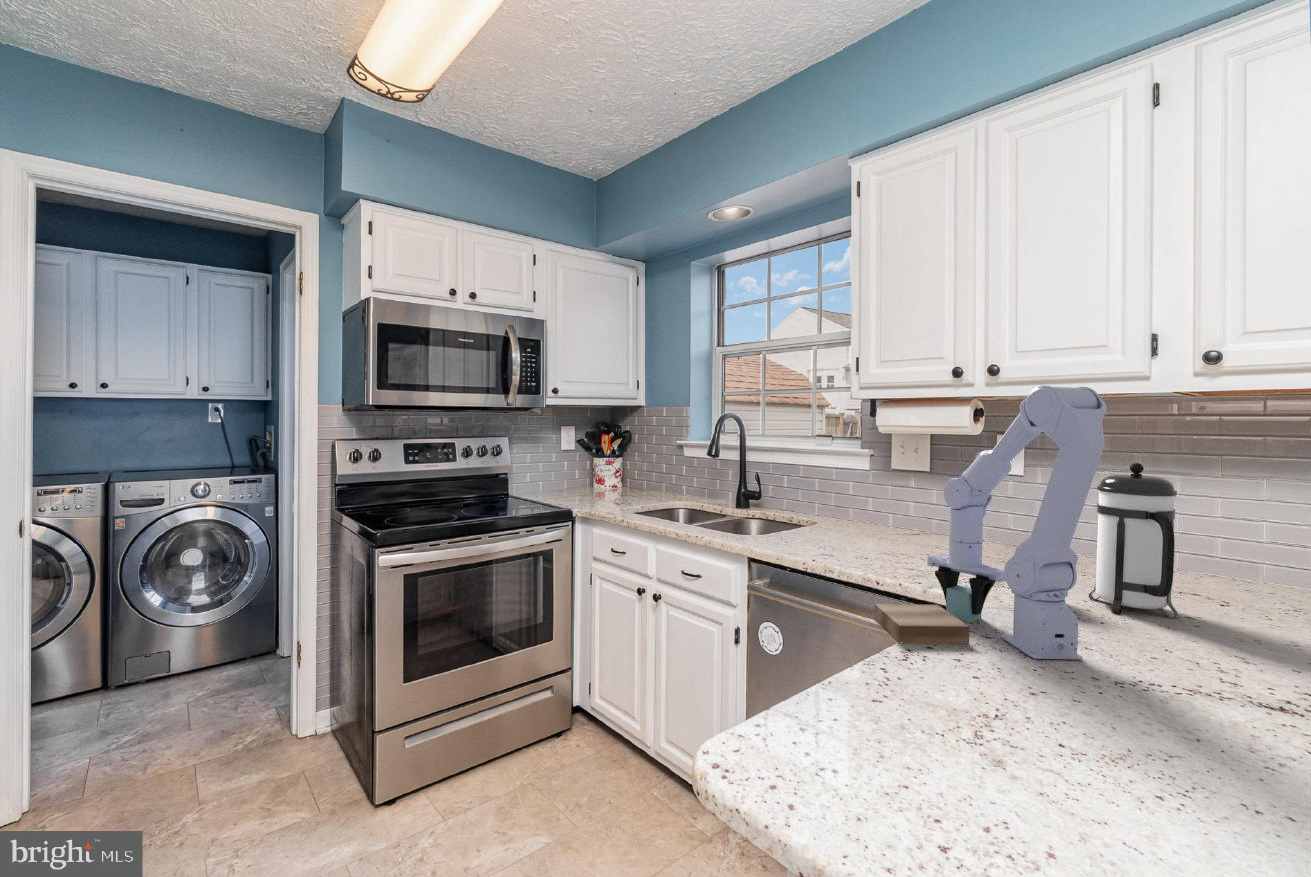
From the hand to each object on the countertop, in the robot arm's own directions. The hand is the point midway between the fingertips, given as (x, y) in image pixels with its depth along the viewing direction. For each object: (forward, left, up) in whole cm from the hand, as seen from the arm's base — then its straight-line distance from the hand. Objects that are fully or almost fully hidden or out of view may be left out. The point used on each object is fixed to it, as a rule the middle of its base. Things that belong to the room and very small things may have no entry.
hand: (963, 610), depth 117 cm
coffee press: (+6, -38, -2) cm, 39 cm away
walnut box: (-8, +12, -2) cm, 15 cm away
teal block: (0, 0, -1) cm, 1 cm away
